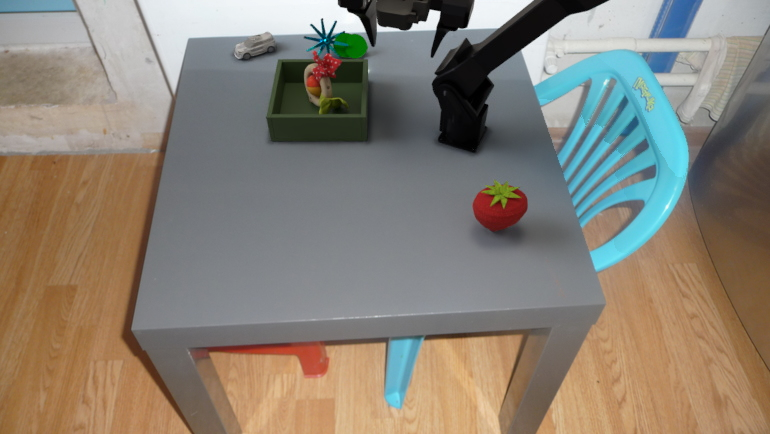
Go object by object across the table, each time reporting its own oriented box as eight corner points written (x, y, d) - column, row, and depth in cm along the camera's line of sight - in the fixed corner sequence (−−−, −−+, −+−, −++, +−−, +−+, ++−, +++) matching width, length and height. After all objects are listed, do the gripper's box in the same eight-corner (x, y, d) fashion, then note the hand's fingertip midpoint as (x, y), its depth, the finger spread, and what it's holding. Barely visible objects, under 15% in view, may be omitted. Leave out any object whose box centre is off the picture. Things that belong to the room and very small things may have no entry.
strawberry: (527, 243, 81) (541, 194, 74) (474, 250, 81) (483, 201, 73) (513, 211, 85) (526, 161, 78) (463, 218, 84) (470, 168, 77)
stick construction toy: (302, 58, 106) (307, 14, 105) (297, 59, 113) (302, 17, 111) (366, 69, 110) (372, 26, 108) (357, 70, 116) (363, 29, 115)
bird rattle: (300, 119, 101) (329, 127, 94) (278, 57, 95) (306, 60, 89) (329, 104, 104) (359, 111, 97) (309, 43, 98) (338, 45, 91)
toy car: (232, 52, 111) (229, 38, 109) (271, 41, 114) (269, 27, 112) (238, 62, 109) (235, 48, 107) (278, 50, 112) (276, 37, 110)
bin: (368, 82, 105) (367, 58, 102) (366, 141, 95) (366, 117, 91) (281, 82, 105) (277, 59, 102) (270, 141, 95) (266, 117, 91)
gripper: (322, -34, 73) (327, 70, 85) (469, -9, 71) (453, 94, 83) (348, -72, 80) (350, 29, 92) (483, -51, 78) (466, 50, 90)
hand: (402, 50), depth 89 cm, fingers open, 9 cm apart
